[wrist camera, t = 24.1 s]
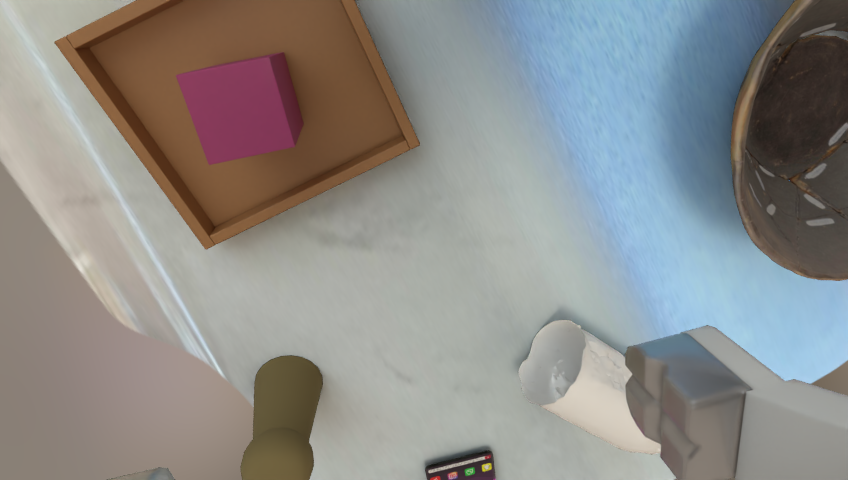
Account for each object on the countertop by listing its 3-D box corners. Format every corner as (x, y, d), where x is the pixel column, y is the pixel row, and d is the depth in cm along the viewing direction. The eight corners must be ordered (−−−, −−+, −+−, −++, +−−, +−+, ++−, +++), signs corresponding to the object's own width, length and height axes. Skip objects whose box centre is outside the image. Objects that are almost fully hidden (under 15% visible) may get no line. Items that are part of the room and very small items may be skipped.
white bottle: (628, 432, 55) (673, 494, 47) (505, 363, 48) (535, 422, 41) (679, 382, 53) (733, 438, 46) (558, 303, 46) (600, 354, 39)
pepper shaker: (240, 375, 44) (212, 477, 34) (299, 344, 43) (288, 437, 33) (279, 419, 46) (262, 525, 36) (335, 390, 46) (334, 489, 36)
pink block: (283, 51, 34) (269, 56, 26) (303, 124, 36) (295, 146, 28) (210, 66, 33) (175, 75, 26) (235, 138, 35) (208, 165, 28)
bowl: (630, -3, 37) (727, -15, 27) (934, -120, 37) (1130, -171, 28) (669, 273, 47) (749, 331, 38) (906, 180, 47) (1041, 216, 38)
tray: (315, -81, 31) (313, -90, 29) (415, 138, 38) (420, 145, 36) (74, 41, 32) (53, 42, 30) (213, 236, 38) (205, 250, 36)
